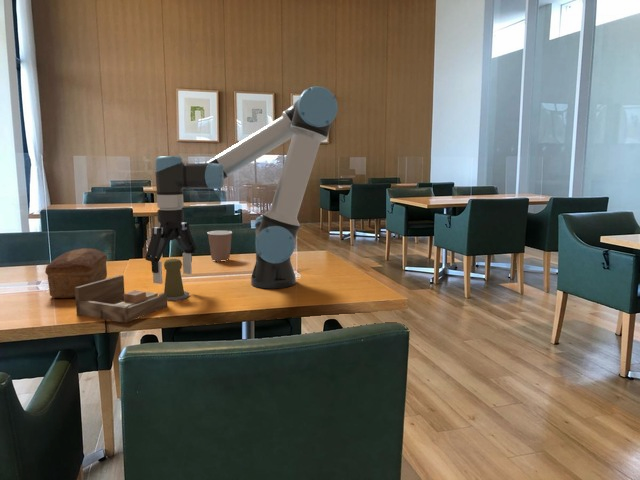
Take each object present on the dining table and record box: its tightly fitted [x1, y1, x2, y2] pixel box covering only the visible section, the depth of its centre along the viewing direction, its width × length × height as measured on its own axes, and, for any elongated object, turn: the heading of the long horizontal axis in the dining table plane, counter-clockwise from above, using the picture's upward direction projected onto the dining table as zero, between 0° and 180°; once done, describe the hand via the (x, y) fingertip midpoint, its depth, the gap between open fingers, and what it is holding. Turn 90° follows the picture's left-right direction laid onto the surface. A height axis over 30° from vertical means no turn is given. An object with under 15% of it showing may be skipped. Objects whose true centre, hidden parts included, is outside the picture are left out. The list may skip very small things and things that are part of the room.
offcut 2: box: [123, 289, 147, 304], centre depth 132 cm, size 4×4×6 cm
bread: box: [44, 247, 108, 299], centre depth 156 cm, size 14×28×12 cm, turn 13°
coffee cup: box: [206, 230, 233, 261], centre depth 203 cm, size 10×10×12 cm
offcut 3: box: [145, 291, 159, 300], centre depth 137 cm, size 4×4×4 cm
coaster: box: [158, 290, 190, 302], centre depth 148 cm, size 9×9×1 cm
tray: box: [74, 274, 168, 324], centre depth 134 cm, size 17×16×8 cm
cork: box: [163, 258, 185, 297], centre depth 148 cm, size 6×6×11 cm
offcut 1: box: [114, 301, 134, 306], centre depth 129 cm, size 4×4×4 cm
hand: (173, 278), depth 148 cm, fingers open, 13 cm apart
